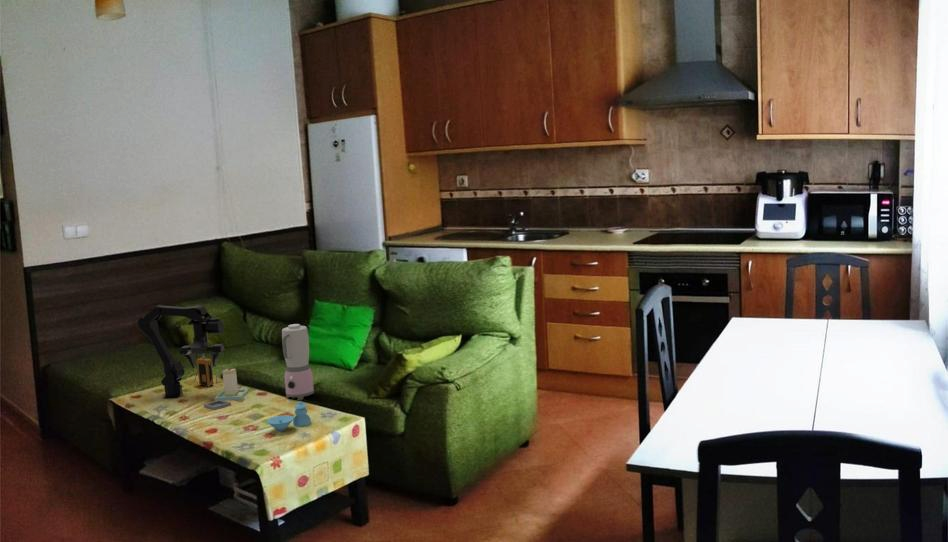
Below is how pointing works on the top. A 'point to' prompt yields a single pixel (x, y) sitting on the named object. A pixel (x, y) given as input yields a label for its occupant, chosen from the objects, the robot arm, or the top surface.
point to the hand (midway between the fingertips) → (203, 367)
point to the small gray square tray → (217, 404)
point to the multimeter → (205, 371)
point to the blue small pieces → (291, 418)
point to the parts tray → (222, 396)
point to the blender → (297, 361)
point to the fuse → (230, 382)
